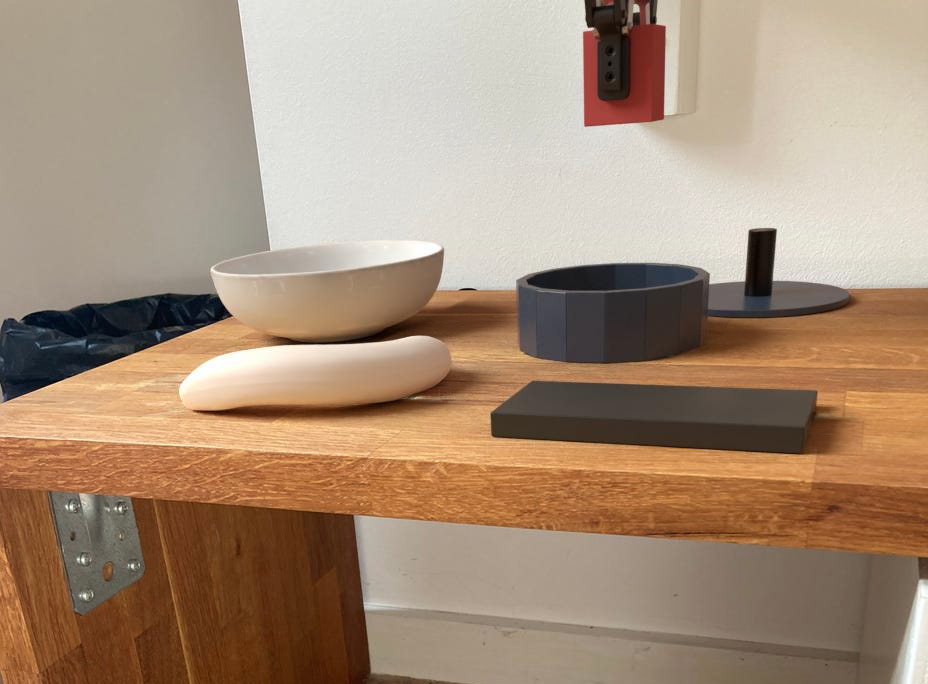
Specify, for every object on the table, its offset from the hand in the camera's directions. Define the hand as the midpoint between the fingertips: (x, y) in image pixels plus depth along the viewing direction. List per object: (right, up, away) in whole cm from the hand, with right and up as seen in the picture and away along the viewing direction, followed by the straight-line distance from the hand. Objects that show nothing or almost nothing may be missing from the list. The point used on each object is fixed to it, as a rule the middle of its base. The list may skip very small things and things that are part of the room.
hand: (621, 98), depth 75 cm
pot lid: (+15, -9, +19) cm, 26 cm away
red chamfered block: (0, -1, +1) cm, 2 cm away
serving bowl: (-23, -11, +21) cm, 33 cm away
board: (0, -26, -12) cm, 29 cm away
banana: (-22, -22, 0) cm, 31 cm away
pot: (0, -16, +7) cm, 18 cm away
